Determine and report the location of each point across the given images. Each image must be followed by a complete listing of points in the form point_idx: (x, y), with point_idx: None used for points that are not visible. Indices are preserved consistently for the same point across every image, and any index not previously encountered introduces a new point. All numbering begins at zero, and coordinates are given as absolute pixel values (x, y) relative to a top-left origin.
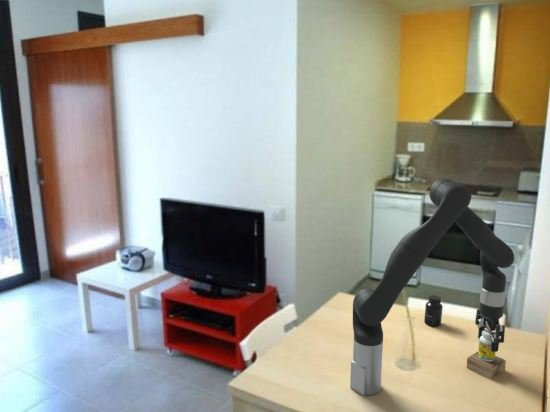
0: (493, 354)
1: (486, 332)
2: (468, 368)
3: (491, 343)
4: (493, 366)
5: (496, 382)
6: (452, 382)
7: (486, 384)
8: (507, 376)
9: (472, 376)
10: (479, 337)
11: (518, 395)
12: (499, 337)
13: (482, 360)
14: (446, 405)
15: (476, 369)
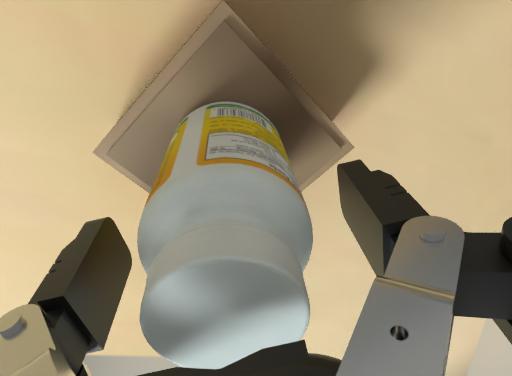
0: (281, 145)
1: (224, 341)
2: None
3: (373, 266)
4: (324, 130)
5: (357, 99)
6: (351, 277)
7: (372, 154)
8: (293, 5)
9: (304, 200)
10: (125, 270)
11: (489, 10)
12: (458, 268)
13: None
14: None
15: None
